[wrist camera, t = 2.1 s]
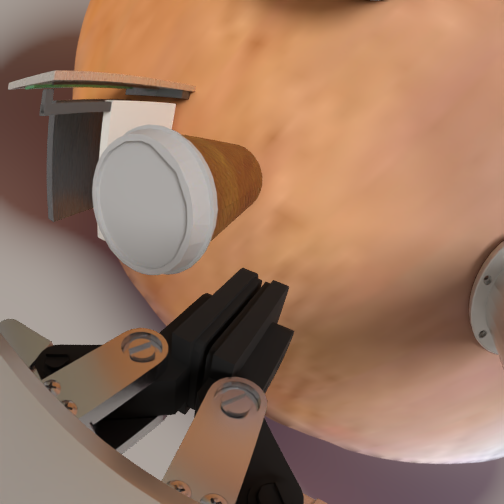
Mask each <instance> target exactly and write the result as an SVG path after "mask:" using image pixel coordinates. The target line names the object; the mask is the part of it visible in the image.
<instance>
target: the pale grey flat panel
mask: <svg viewBox="0 0 504 504" xmlns="http://www.w3.org/2000/svg"><path fill="white" fill-rule="evenodd" d="M53 93H54V89H45V90H43V94H42V102H41V107H40V116H48V115H58V114H70V113H85V112H104V113H103V121H102V131H101V141H100V153H99V159H100V157H101V155H102V153H103V152H104V150H105V149H106V148H107V147H108V146H109V144H110V143H112V142H113V141H115V140H116V139H117V138H119V137H122V136H123V135H124V134H125V133H126V132H128V131H130V130H132V129H134V128H136V127H138V126H143V125H148V124H149V125H159V126H165V127H167V128H169V129H172V125H173V118H174V113H175V107H176V104H174V103H163V102H148V101H126V100H105V101H90V102H64V103H52V101H53ZM98 237H99V238H101V239H103V240H104V241H105V239H104V237H103V235H102V233H101V231H100V229H99V226H98Z"/></svg>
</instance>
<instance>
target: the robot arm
mask: <svg viewBox="0 0 504 504" xmlns="http://www.w3.org/2000/svg"><path fill="white" fill-rule="evenodd" d="M486 276H487V277H486ZM485 277H486V278H485ZM261 284H262V280H260V279H258V274H257V273H254V272H252V271H249V270H247V269H245V268H242V269H240V270H239V271H238V272H237V273H236V274H235V275H234V276H233V277H232V278H231V279H229V280H228V281H227V282H226V283H225V284H224V285H223V286H222V287H221V288H220V289H219V290H218V291H217V292H215V293H214V294H213V295H210V294H208V293H205V294H203V295H202V296H201V297H200V298H199V299H197V300H196V301H195V302H194V303H193V304H192V305H191V306H189V307H188V308H187V309H186V310H185V311H184V312H183V313H182V314H180V315H179V316H178V317H177V318H176V319H175V320H174V321H172V322H171V323H170V324H169V325H168V326H167V327H166V328H165V329H163V330H162V331H161V332H160V333H157V332H156V331H154V330H150V329H145V328H137V329H131V330H129V331H126V332H124V333H122V334H121V335H119V336H117V337H115V338H114V339H112V340H110V341H109V342H107V343H105V344H104V345H53V344H52V341H50V340H48V339H46V338H45V337H43V336H41V335H39V334H38V333H36V332H35V331H33V330H31V329H30V328H28V327H26V326H25V325H24V324H22V323H20V322H19V321H17V320H14V319H6V320H3V321H1V322H0V504H327V503H325V502H323V501H321V500H320V499H316V500H314V499H312V498H310V497H309V496H307V495H305V494H303V493H302V490H301V488H300V486H299V484H298V483H297V480H296V479H295V477H294V475H293V473H292V471H291V469H290V467H289V465H288V464H287V462H286V460H285V458H284V456H283V454H282V452H281V451H280V448H279V447H278V444H277V443H276V441H275V439H274V437H273V435H272V433H271V431H270V429H269V427H268V425H267V423H266V421H265V419H264V416H265V413H266V409H267V399H266V395H265V393H266V391H267V389H268V387H269V385H270V383H271V381H272V380H273V378H274V376H275V374H276V372H277V370H278V368H279V366H280V364H281V362H282V360H283V358H284V355H285V353H286V351H287V349H288V346H289V344H290V341H291V339H292V336H293V334H294V331H293V330H291V329H288V328H286V327H283V326H281V325H279V324H277V322H278V320H279V317H280V314H281V311H282V308H283V305H284V302H285V299H286V296H287V292H288V289H289V286H287V285H284V284H282V283H279V282H277V281H274V280H273V281H272V282H271V284H270V283H268V282H265V283H264V285H263V286H262V287H261ZM469 317H470V324H471V327H472V330H473V333H474V335H475V338H476V340H477V341H478V342H479V343H480V345H481V346H482V347H483V348H485V349H486V350H487V351H489V352H491V353H494V354H497V355H499V357H500V360H501V363H502V366H503V369H504V241H503V242H501V243H500V244H499V245H498V246H497V247H496V248H495V249H494V250H493V251H492V252H491V254H490V255H489V256H488V258H487V259H486V261H485V262H484V263H483V265H482V267H481V269H480V271H479V273H478V274H477V277H476V279H475V282H474V285H473V287H472V291H471V296H470V300H469ZM190 408H192V409H194V410H195V416H194V420H193V422H192V424H191V426H190V427H189V429H188V431H187V433H186V435H185V437H184V439H183V441H182V443H181V445H180V447H179V449H178V451H177V453H176V455H175V456H174V458H173V460H172V462H171V464H170V466H169V468H168V470H167V472H166V474H165V476H164V478H163V479H162V481H160V480H158V479H157V478H155V477H154V476H152V475H151V474H149V473H147V472H146V471H144V470H143V469H141V468H140V467H138V466H137V465H136V464H134V463H133V462H131V461H130V460H128V459H127V458H126V457H124V456H123V455H122V454H123V453H124V452H125V451H127V450H128V449H129V448H130V447H132V446H133V445H134V444H135V443H137V442H138V441H139V440H140V439H142V438H143V437H144V436H145V435H147V434H148V433H149V432H150V431H152V430H153V429H154V428H155V427H156V426H158V425H159V424H160V423H161V422H162V421H163V420H164V419H165V418H166V417H167V415H172V414H176V412H177V411H180V412H181V413H183V414H186V413H187V412H188V410H189V409H190Z"/></svg>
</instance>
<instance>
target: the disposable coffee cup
mask: <svg viewBox="0 0 504 504" xmlns="http://www.w3.org/2000/svg"><path fill="white" fill-rule="evenodd" d="M261 187H262V173H261V169H260V166H259V163H258V162H257V160H256V159H255V157H254V156H253V154H252V153H251V152H250V151H248V150H247V149H245V148H244V147H242V146H239V145H235V144H230V143H225V142H220V141H215V140H209V139H204V138H199V137H193V136H187V135H181V134H179V133H178V132H176V131H174V130H172V129H169V128H167V127H165V126H159V125H149V124H148V125H143V126H138V127H136V128H134V129H132V130H130V131H128V132H126V133H125V134H124V135H123V136H122V137H119V138H117V139H116V140H115V141H113V142H112V143H110V144H109V146H108V147H107V148H106V149H105V150H104V152H103V153H102V155H101V157H100V159H99V161H98V163H97V166H96V169H95V173H94V178H93V187H92V198H93V207H94V213H95V217H96V220H97V223H98V226H99V229H100V231H101V233H102V235H103V237H104V239H105V241H106V242H107V244H108V246H109V248H110V249H111V250H112V252H113V253H114V254H115V255H116V256H117V257H118V258H119V259H120V260H121V261H122V262H123V263H124V264H125V265H127V266H128V267H130V268H131V269H133V270H135V271H137V272H140V273H142V274H147V275H160V274H176V273H180V272H182V271H184V270H186V269H188V268H190V267H192V266H193V265H194V264H195V263H196V262H197V261H198V260H199V259H200V258H201V257H202V255H203V254H204V253H205V251H206V249H207V247H208V245H209V243H210V241H211V240H213V239H214V238H215V237H216V236H217V235H218V234H219V233H220V232H221V231H222V230H224V229H225V228H226V227H227V226H228V225H229V224H230V223H231V222H232V221H234V220H235V219H236V218H237V217H238V216H239V215H240V214H241V213H242V212H243V211H245V210H246V209H247V208H248V207H249V206H251V205H252V204H253V202H254V201H255V200H256V199H257V197H258V195H259V193H260V191H261Z"/></svg>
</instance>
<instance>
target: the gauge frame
mask: <svg viewBox="0 0 504 504" xmlns="http://www.w3.org/2000/svg"><path fill="white" fill-rule="evenodd" d="M61 87H62V88H63V87H92V88H118V89H126V94H125V95H144V96H160V97H172V98H182V99H189V96H190V91H191V92H195V88H196V86H193V85H188V84H183V83H178V82H172V81H167V80H160V79H154V78H147V77H140V76H132V75H123V74H113V73H101V72H86V71H52V72H48V73H43V74H39V75H35V76H31V77H28V78H24V79H21V80H17V81H14V82H11V83H9V86H8V90H10V89H21V88H25V89H38V88H61ZM105 100H120V99H80V100H57V101H52V103H64V102H90V101H105ZM126 101H132V100H126ZM103 113H104V112H85V113H70V114H58V115H49V126H48V142H47V143H48V144H47V199H48V216H49V219H50V220H52V221H53V222H55V221H58V220H60V219H63V218H66V217H69V216H72V215H74V214H77V213H80V212H83V211H86V210H89V209H92V208H94V207H93V198H92V187H93V178H94V173H95V169H96V166H97V163H98V161H99V153H100V141H101V131H102V121H103Z"/></svg>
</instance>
